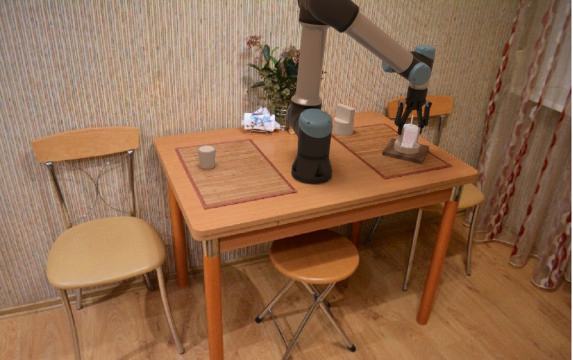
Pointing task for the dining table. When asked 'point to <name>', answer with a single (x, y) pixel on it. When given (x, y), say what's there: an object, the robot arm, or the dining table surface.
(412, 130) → the beverage cup
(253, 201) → the dining table surface
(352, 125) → the cylinder with rectangular tab
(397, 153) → the holder
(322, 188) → the dining table surface
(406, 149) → the ring
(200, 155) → the gray tapered cup
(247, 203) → the dining table surface
